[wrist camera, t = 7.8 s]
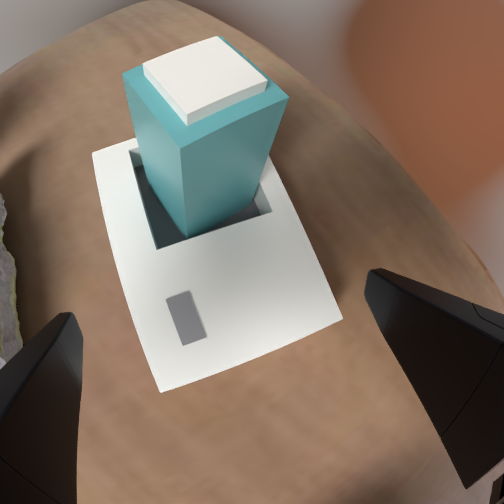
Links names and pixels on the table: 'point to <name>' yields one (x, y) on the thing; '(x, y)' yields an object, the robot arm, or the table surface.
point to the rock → (7, 300)
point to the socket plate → (210, 274)
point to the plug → (203, 130)
